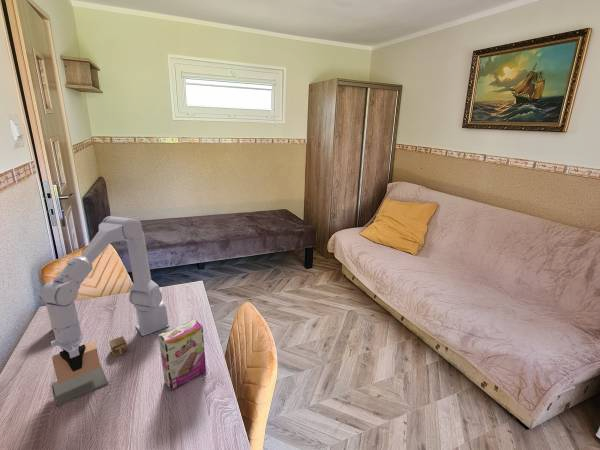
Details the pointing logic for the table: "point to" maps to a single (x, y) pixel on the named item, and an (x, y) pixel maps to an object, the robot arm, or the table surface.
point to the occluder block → (88, 364)
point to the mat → (79, 386)
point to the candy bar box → (182, 353)
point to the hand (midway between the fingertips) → (75, 364)
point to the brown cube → (118, 346)
